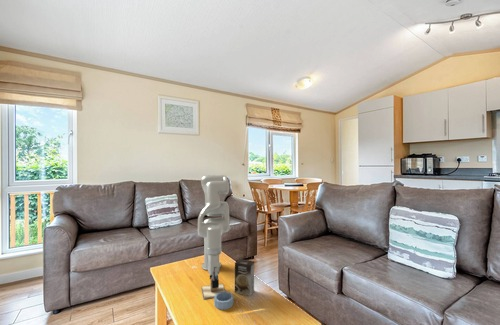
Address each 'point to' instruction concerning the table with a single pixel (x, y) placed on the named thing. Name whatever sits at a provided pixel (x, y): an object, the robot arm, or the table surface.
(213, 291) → the lid
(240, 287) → the coffee box
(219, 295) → the bowl
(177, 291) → the table surface
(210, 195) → the robot arm
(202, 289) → the mat
